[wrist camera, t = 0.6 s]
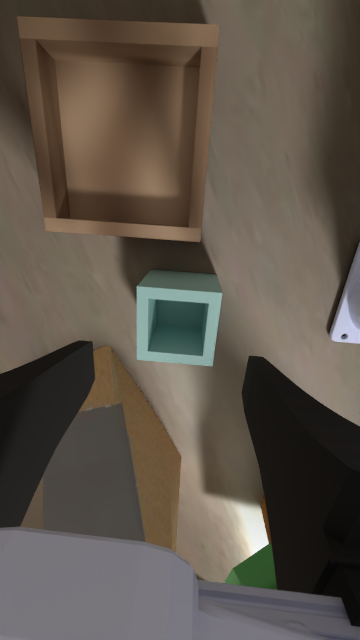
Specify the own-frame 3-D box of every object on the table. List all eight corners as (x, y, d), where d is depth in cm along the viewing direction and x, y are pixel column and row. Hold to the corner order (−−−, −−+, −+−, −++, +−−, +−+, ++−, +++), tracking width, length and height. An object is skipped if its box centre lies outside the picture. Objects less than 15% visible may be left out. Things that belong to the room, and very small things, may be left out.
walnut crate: (216, 55, 14) (219, 24, 12) (199, 238, 18) (200, 241, 16) (44, 47, 15) (16, 16, 12) (64, 228, 19) (45, 230, 16)
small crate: (216, 274, 19) (222, 293, 15) (209, 333, 21) (212, 366, 16) (151, 269, 19) (136, 286, 15) (150, 328, 21) (136, 359, 17)
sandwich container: (111, 340, 22) (-33, 547, 8) (184, 456, 27) (170, 707, 13) (35, 372, 24) (-183, 584, 10) (117, 475, 29) (43, 712, 15)
